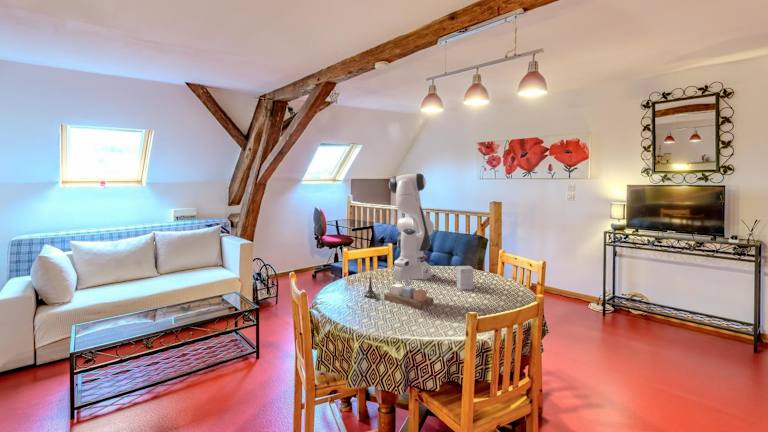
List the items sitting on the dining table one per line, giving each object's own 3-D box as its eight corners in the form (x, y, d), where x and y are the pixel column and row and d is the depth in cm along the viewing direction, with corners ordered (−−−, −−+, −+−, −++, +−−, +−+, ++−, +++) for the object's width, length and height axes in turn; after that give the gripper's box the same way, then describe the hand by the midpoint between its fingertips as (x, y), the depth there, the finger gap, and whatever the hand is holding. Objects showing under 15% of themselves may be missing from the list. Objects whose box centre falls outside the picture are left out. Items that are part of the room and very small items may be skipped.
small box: (469, 286, 243) (469, 265, 241) (473, 289, 237) (473, 268, 235) (456, 286, 242) (456, 265, 240) (460, 290, 236) (460, 268, 234)
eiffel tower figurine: (380, 302, 216) (380, 278, 214) (361, 302, 216) (361, 278, 214) (380, 293, 231) (380, 270, 229) (362, 293, 231) (362, 270, 229)
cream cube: (396, 292, 223) (396, 283, 223) (404, 294, 220) (404, 285, 220) (391, 294, 220) (391, 285, 219) (398, 296, 216) (398, 287, 216)
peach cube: (418, 297, 214) (419, 288, 213) (426, 300, 211) (426, 290, 210) (413, 300, 210) (413, 291, 209) (421, 302, 207) (421, 293, 206)
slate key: (407, 294, 219) (407, 286, 218) (415, 296, 216) (415, 287, 215) (402, 297, 215) (402, 288, 214) (409, 299, 212) (409, 290, 211)
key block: (397, 294, 228) (397, 289, 227) (433, 303, 212) (433, 298, 212) (384, 299, 219) (384, 294, 218) (420, 309, 203) (420, 304, 203)
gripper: (415, 255, 222) (414, 280, 224) (392, 262, 207) (391, 288, 209) (424, 257, 218) (424, 282, 220) (401, 264, 203) (401, 290, 205)
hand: (408, 285), depth 214 cm, fingers closed
